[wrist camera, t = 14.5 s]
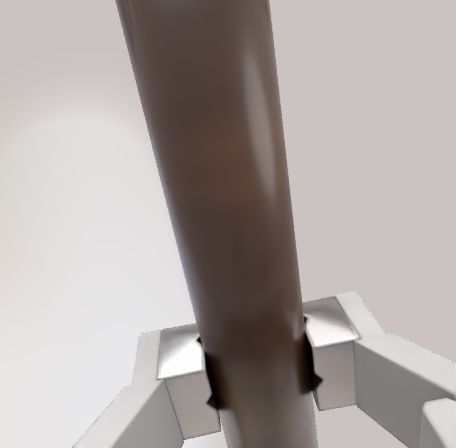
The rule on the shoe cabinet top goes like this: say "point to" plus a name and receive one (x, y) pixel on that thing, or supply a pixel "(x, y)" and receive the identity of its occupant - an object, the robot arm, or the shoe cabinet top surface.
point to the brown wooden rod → (229, 204)
